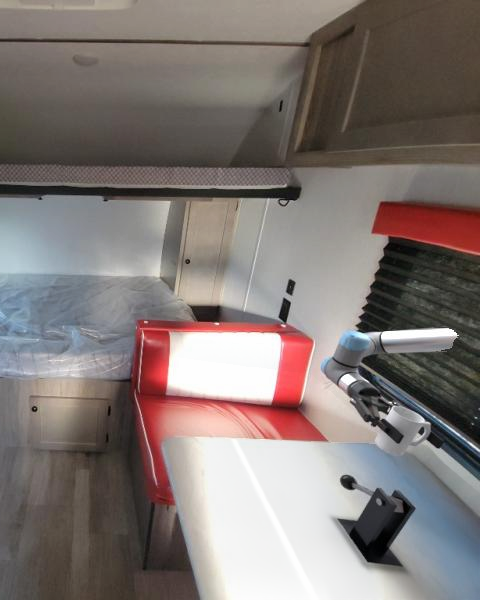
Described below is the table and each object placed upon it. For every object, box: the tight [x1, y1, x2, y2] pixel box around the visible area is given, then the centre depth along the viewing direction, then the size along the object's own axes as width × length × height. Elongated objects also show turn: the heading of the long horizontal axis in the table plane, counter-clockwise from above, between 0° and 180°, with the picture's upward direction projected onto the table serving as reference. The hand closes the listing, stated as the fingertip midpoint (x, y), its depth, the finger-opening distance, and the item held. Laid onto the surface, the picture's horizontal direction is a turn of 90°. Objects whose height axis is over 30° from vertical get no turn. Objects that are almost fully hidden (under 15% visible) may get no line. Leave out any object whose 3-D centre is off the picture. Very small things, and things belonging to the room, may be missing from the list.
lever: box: [339, 474, 403, 513], centre depth 80 cm, size 15×4×4 cm, turn 178°
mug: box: [374, 406, 432, 457], centre depth 92 cm, size 10×7×12 cm, turn 73°
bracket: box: [337, 487, 417, 568], centre depth 76 cm, size 10×8×16 cm
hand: (420, 442), depth 88 cm, fingers closed on mug, 10 cm apart
